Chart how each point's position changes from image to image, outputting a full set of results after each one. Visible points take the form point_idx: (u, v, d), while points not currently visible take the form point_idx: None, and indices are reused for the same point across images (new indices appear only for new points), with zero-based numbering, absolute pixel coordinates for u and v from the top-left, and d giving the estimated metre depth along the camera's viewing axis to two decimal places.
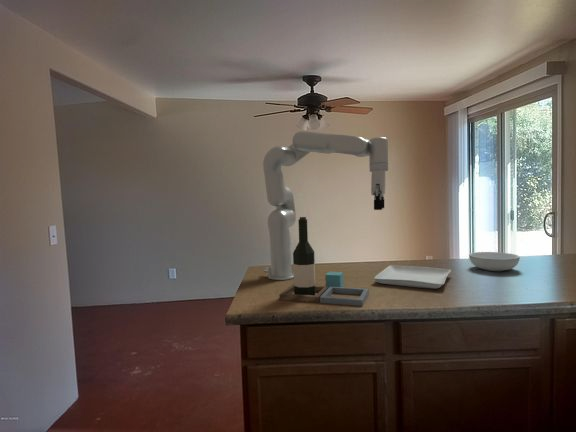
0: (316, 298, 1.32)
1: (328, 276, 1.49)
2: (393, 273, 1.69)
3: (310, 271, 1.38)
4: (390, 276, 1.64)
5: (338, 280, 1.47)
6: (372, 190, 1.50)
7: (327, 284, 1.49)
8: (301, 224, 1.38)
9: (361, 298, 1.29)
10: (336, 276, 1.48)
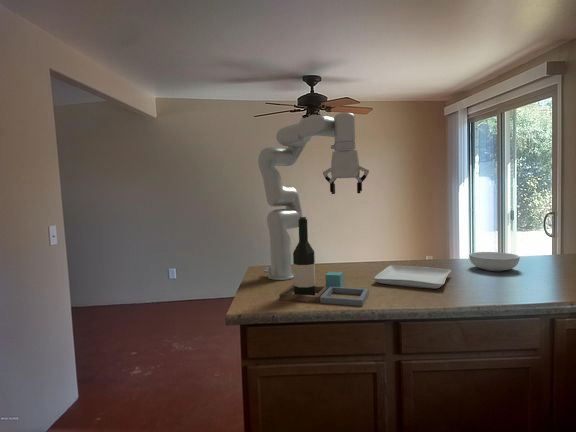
0: (316, 298, 1.32)
1: (328, 276, 1.49)
2: (393, 273, 1.69)
3: (310, 271, 1.38)
4: (390, 276, 1.64)
5: (338, 280, 1.47)
6: (357, 171, 1.34)
7: (327, 284, 1.49)
8: (301, 224, 1.38)
9: (361, 298, 1.29)
10: (336, 276, 1.48)
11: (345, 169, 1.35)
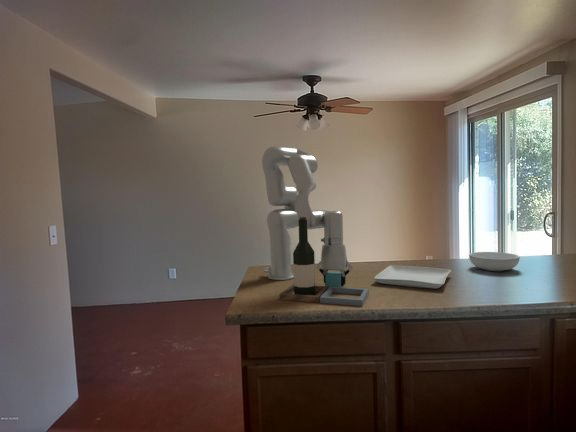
0: (316, 298, 1.32)
1: (328, 276, 1.49)
2: (393, 273, 1.69)
3: (310, 271, 1.38)
4: (390, 276, 1.64)
5: (338, 280, 1.47)
6: (345, 265, 1.47)
7: (327, 284, 1.49)
8: (301, 224, 1.38)
9: (361, 298, 1.29)
10: (336, 276, 1.48)
11: (334, 263, 1.48)
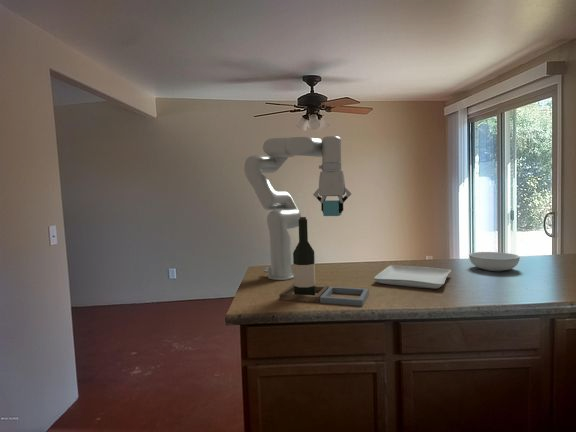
0: (316, 298, 1.32)
1: (326, 202, 1.47)
2: (393, 273, 1.69)
3: (310, 271, 1.38)
4: (390, 276, 1.64)
5: (336, 206, 1.46)
6: (343, 190, 1.45)
7: (325, 210, 1.47)
8: (301, 224, 1.38)
9: (361, 298, 1.29)
10: (334, 202, 1.46)
11: (331, 188, 1.46)
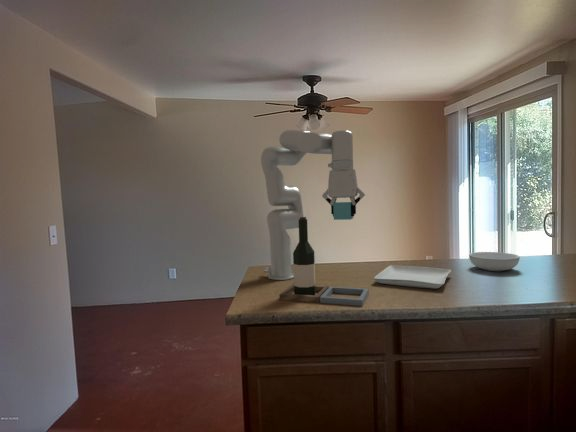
0: (316, 298, 1.32)
1: (336, 204, 1.32)
2: (393, 273, 1.69)
3: (310, 271, 1.38)
4: (390, 276, 1.64)
5: (348, 208, 1.30)
6: (355, 191, 1.30)
7: (335, 213, 1.32)
8: (301, 224, 1.38)
9: (361, 298, 1.29)
10: (346, 204, 1.30)
11: (343, 189, 1.31)
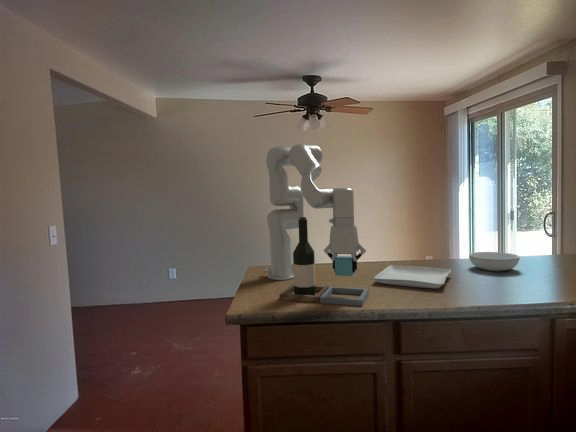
0: (316, 298, 1.32)
1: (338, 260, 1.33)
2: (393, 273, 1.69)
3: (310, 271, 1.38)
4: (390, 276, 1.64)
5: (349, 265, 1.32)
6: (357, 248, 1.31)
7: (337, 269, 1.33)
8: (301, 224, 1.38)
9: (361, 298, 1.29)
10: (347, 261, 1.32)
11: (344, 245, 1.32)
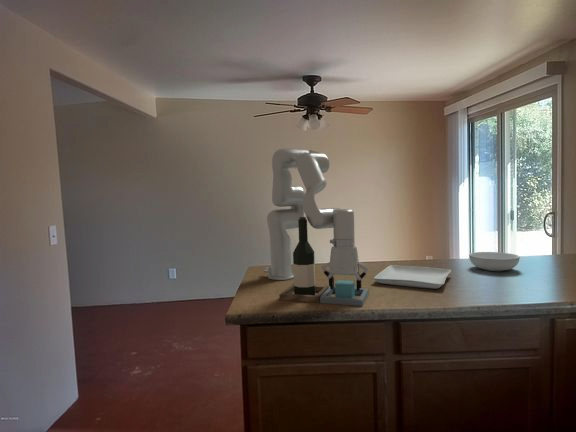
0: (316, 298, 1.32)
1: (338, 286, 1.34)
2: (393, 273, 1.69)
3: (310, 271, 1.38)
4: (390, 276, 1.64)
5: (349, 290, 1.32)
6: (357, 269, 1.32)
7: (337, 294, 1.34)
8: (301, 224, 1.38)
9: (361, 298, 1.29)
10: (348, 286, 1.32)
11: (344, 267, 1.33)
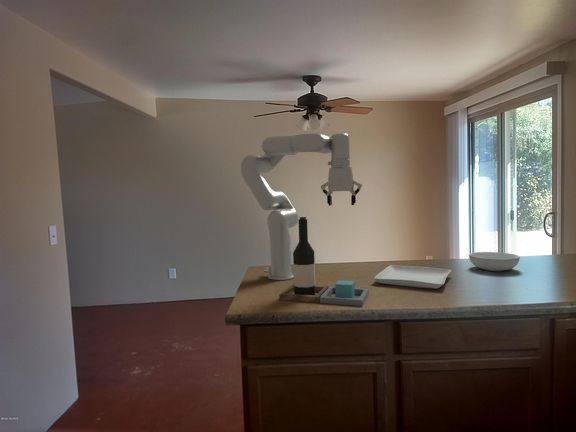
0: (316, 298, 1.32)
1: (338, 286, 1.34)
2: (393, 273, 1.69)
3: (310, 271, 1.38)
4: (390, 276, 1.64)
5: (349, 290, 1.32)
6: (351, 185, 1.51)
7: (337, 294, 1.34)
8: (301, 224, 1.38)
9: (361, 298, 1.29)
10: (348, 286, 1.32)
11: (340, 183, 1.51)
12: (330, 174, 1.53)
